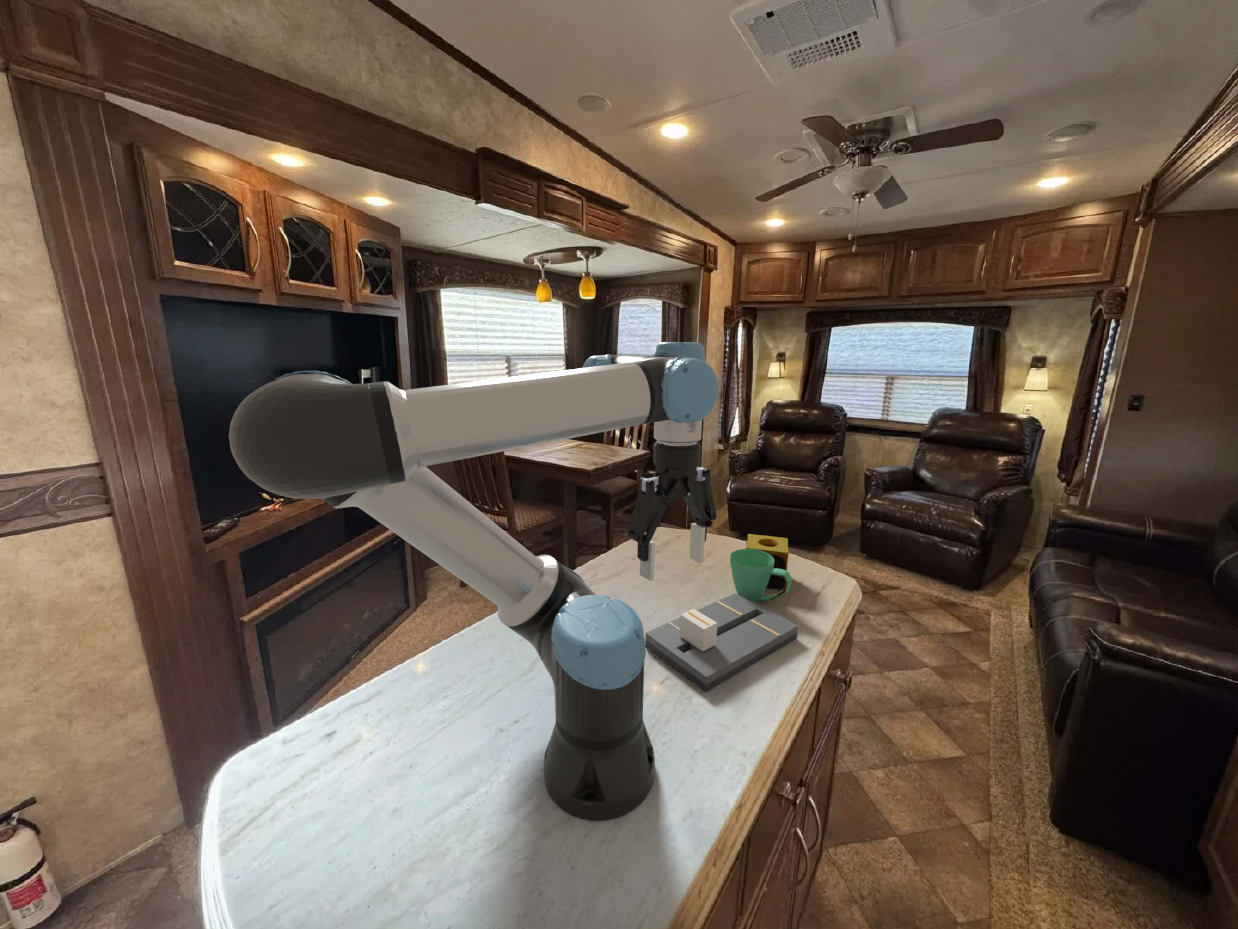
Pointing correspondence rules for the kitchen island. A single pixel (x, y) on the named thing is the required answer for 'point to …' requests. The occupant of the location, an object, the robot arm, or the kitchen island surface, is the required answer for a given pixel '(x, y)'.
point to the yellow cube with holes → (777, 550)
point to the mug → (756, 574)
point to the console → (723, 641)
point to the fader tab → (698, 630)
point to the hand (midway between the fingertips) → (672, 568)
